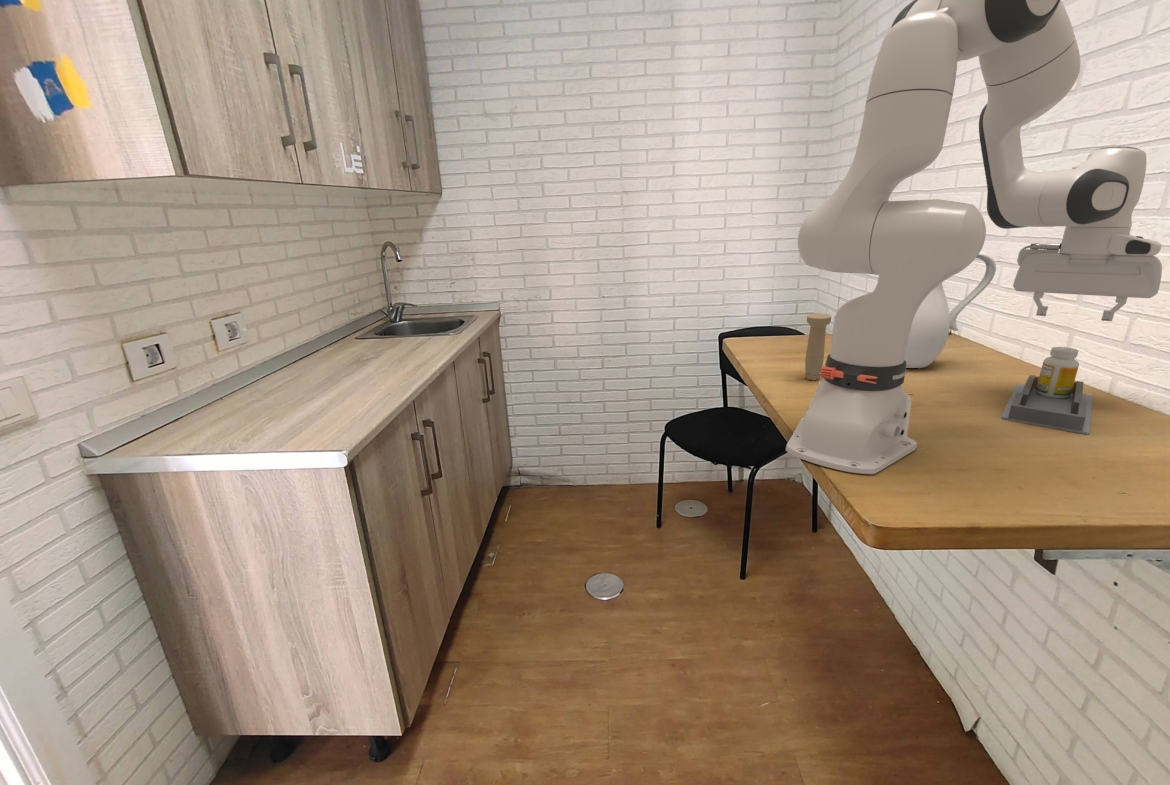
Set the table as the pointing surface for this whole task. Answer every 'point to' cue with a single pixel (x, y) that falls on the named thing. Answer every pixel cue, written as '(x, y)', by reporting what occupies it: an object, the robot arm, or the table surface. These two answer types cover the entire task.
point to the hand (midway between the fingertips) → (1072, 317)
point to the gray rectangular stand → (1050, 408)
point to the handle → (816, 345)
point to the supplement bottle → (1058, 373)
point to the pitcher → (939, 320)
